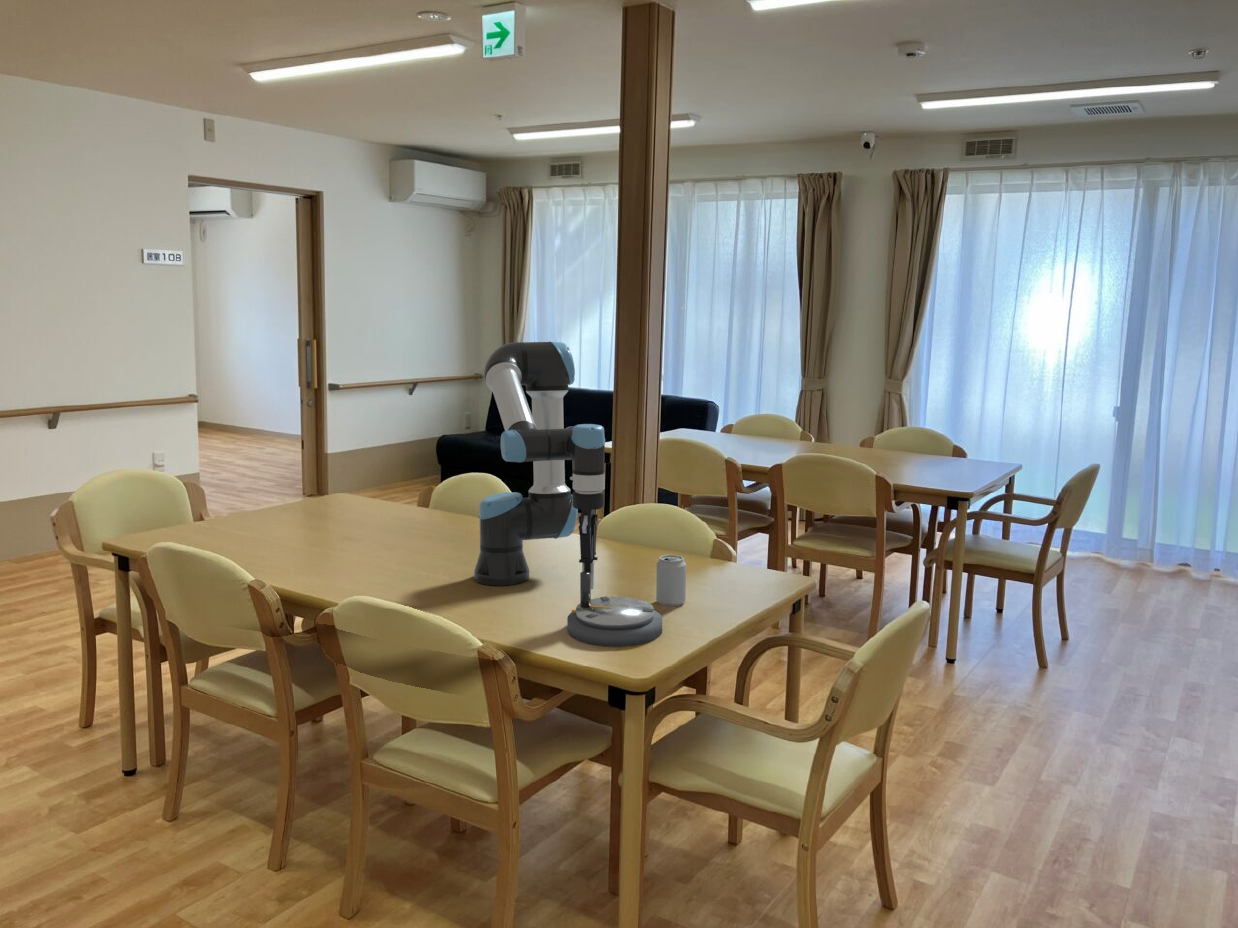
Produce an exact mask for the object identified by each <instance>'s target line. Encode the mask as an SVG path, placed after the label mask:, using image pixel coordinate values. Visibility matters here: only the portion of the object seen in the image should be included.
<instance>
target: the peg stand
mask: <svg viewBox="0 0 1238 928" xmlns="http://www.w3.org/2000/svg"><path fill="white" fill-rule="evenodd" d="M579 574H580V578H579V579H580V583H579V585H580V590H579V591H580V592H579V593H580V599H579V600H580V602H579V603H578V604H577V605H576V607H575V610H576V619H577V620H578V621H579V622H580V623H582V624H584V625H587V626H590V627H594V628H600V629H630V628H636V627H640V626H643V625H646V624H648V623H650V622H651V621H652V620H653V618H654V610H655V608H654V606H653V605H652V604H651V603H650V602H648V601H645V600H643V599H639V598H635V597H634V598H633V597H627V596H626V597H625V596H600V597H594V598H592V596H591V593H592V589H591V573H590V572H582V571H581V572H580V573H579Z"/></svg>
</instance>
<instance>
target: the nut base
mask: <svg viewBox="0 0 1238 928" xmlns="http://www.w3.org/2000/svg"><path fill="white" fill-rule="evenodd" d="M566 619H567V620H566V621H567V622H566V623H567V628H566V629H567V630H568V631H567V634H568V635H569V636H570V637H571V638H572V639H573V638H574V640H575V641H577V640H578V642H579V643H583V644H588V645H591V646H599V647H607V646H608V647H613V648H619V647H622V646H623V647H632V646H638V645H643V644H647V643H650V642H652V641H655V640H657V639H658V638H659V637H660V636H661V635H662V633H663V616H662V615H661V613H660V612H658V611H657V610H655V609H654V618H653V620H652V621H651V622H650V623H648V624H646V625H643V626H640V627H636V628H630V629H600V628H594V627H590V626H587V625H584V624H582V623H580V622H579V621H578V620H577V619H576V609H575V608H574V609H571V612H570V613H569V614H568V615H567V618H566Z"/></svg>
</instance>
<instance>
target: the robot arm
mask: <svg viewBox="0 0 1238 928" xmlns="http://www.w3.org/2000/svg"><path fill="white" fill-rule="evenodd" d="M488 357H489V358H488V359H487V361H486V364H485V365H484V371H483V374H484V376H483V377H484V380H485V384H486V387H487V388H488V389H489V391H491V392H492V393H493V397H494V400H495V403H496V406H497V409H498V412H499V415H500V419H501V422H502V425H503V428H504V431H503V432H502V433H501V436H500V451H501V458H502V459H503V460H504V461H505V462H507V463H508V462H509V463H510V462H511V463H526V462H533V463H532V464H533V485H532V486H531V487H530V488H529V490H528V497H523V495H522V493H520V492H516V491H515V492H513V491H512V492H500V493H497V494H492V495H489V496H487V497H485V498H483V499H482V500H481V501H480V503H479V512H478V513H479V514H478V519H479V555H478V558H477V561H476V565H475V566H474V572H473V579H474V582H476V581H477V582H476V583H479V584H481V585H487V586H510V585H517V584H522V583H524V582H526V581H528V580H529V579H530V568H529V565H528V561H527V559H526V556H525V554H524V551H523V550H524V549H523V543H524V541H530V540H531V541H532V540H542V539H543V540H545V539H559V538H567V537H569V536H571V535H572V534H573V533H574V531H575V529H576V525H577V521H578V524H579V525H578V532H579V533H578V534H579V548H580V549H579V550H580V559H578V563H582V564H581V567H582V568H581V572H590V573H591V590H594V589H595V561H598V558H599V557H597V556H596V554H597V529H598V520H599V517H598V516H599V514H598V513H597V514H596V510H600V509H604V507H605V492H604V490H605V489H606V487H605V486H606V483H605V482H606V480H605V479H606V475H605V474H606V472H605V464H606V463H605V459H606V458H605V455H606V454H605V453H606V452H605V449H606V448H605V447H606V445H605V444H606V438H605V428H604V426H602V425H600V424H594V423H582V424H576V425H574V426H571V425H570V426H568V427H566V428H564V397H565V396H566V395H567V393H568V392H569V386H571V385H573V384H574V382H575V380H576V379H575V375H576V368H575V361H574V357H573V354H572V351H571V349H570V347H569V345H568V344H566V343H565V342H561V341H558V342H557V341H550V340H549V341H531V342H527V341H526V342H524V341H523V342H521V341H520V342H519V341H516V342H515V341H512V342H508V343H505V344H503V345H501V346H499V347H498V348H497V349H496V350H494V351H493V352H492V353H491V354H490V356H488ZM522 386H525V391H524V388H523V387H522ZM525 392H526V394H527V395H528V396H529V397H530V398H531V409H530V406H529V403H528V400H527V397H526V395H525ZM566 460H567V461H570V460H572V472H571V473H572V476H570V477H569V480H570V481H572V489H573V492H572V494H571V488H570V487H569V486H567V484H566V479H565V478H566V477H565V476H566V473H565V472H566V469H565V461H566ZM579 510H580V511H581V514H580V515H579V516H578V511H579Z"/></svg>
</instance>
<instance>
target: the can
mask: <svg viewBox="0 0 1238 928" xmlns="http://www.w3.org/2000/svg"><path fill="white" fill-rule="evenodd" d="M658 559H659V560H658V561H657V562H656V579H655V580H656V581H655V582H656V590H655V591H656V592H655V593H656V596H655V598H656V599H655V600H656V601H657V603H659V605H661V606H664V607H672V608H673V607H678V606H682V605H683V604H684V603H685V602H686V600H687V599H686V597H687V596H686V594H687V593H686V590H687V589H686V588H687V585H686V584H687V563H686V562H685V561H684V560H685V558H684V557H683V556H682V555H677V554H664V555H661V556H659V558H658Z"/></svg>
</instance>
